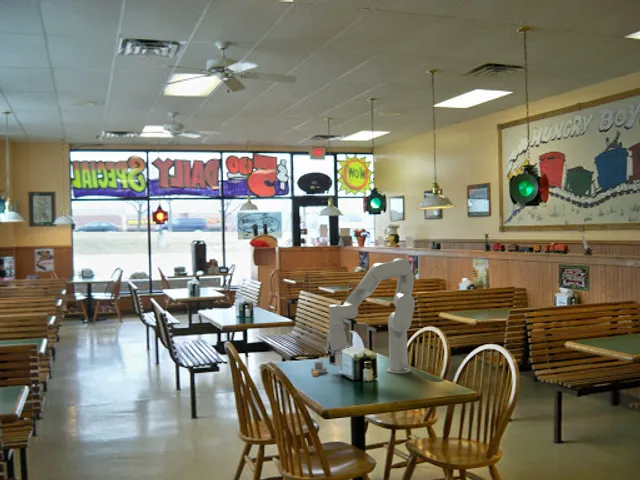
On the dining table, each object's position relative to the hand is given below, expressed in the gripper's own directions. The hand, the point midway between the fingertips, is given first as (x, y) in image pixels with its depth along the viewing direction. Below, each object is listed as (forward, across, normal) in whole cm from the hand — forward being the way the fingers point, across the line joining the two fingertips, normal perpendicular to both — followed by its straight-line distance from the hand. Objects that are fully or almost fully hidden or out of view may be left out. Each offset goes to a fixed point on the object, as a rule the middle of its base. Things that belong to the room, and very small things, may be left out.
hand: (338, 361), depth 330 cm
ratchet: (+6, +9, -6) cm, 12 cm away
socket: (+1, 0, 0) cm, 1 cm away
